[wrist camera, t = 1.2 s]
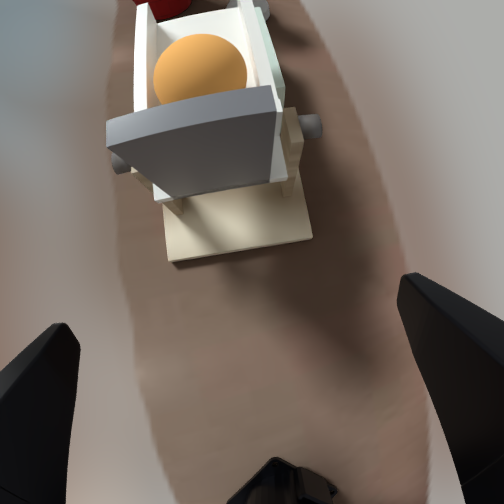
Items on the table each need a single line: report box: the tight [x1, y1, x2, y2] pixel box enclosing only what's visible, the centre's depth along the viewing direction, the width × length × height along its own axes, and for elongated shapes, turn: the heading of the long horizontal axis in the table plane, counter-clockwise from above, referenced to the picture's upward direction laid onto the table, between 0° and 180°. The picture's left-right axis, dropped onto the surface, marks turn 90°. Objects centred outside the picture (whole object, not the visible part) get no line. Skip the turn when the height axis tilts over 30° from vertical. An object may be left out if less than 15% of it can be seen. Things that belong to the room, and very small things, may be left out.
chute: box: [106, 0, 288, 203], centre depth 11 cm, size 11×6×7 cm, turn 9°
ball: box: [153, 34, 247, 105], centre depth 12 cm, size 4×4×4 cm
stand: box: [111, 107, 322, 262], centre depth 18 cm, size 8×10×9 cm
